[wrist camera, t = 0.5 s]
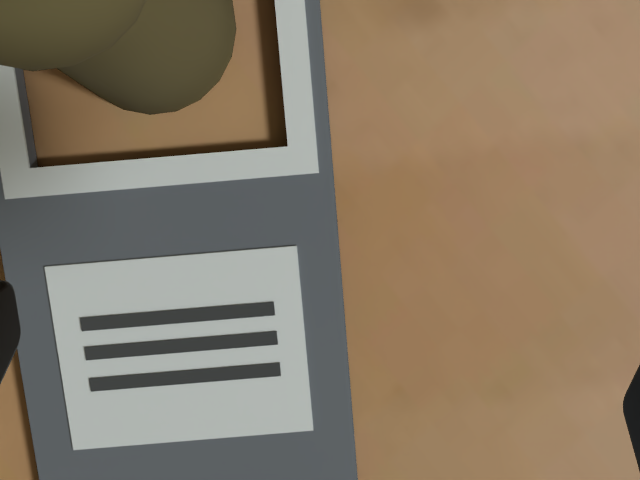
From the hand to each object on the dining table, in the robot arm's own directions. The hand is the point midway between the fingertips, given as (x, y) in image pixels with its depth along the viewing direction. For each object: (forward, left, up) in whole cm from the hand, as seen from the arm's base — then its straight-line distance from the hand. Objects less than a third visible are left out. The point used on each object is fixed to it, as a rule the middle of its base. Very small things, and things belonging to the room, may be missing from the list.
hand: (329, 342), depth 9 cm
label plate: (-1, +5, -14) cm, 15 cm away
